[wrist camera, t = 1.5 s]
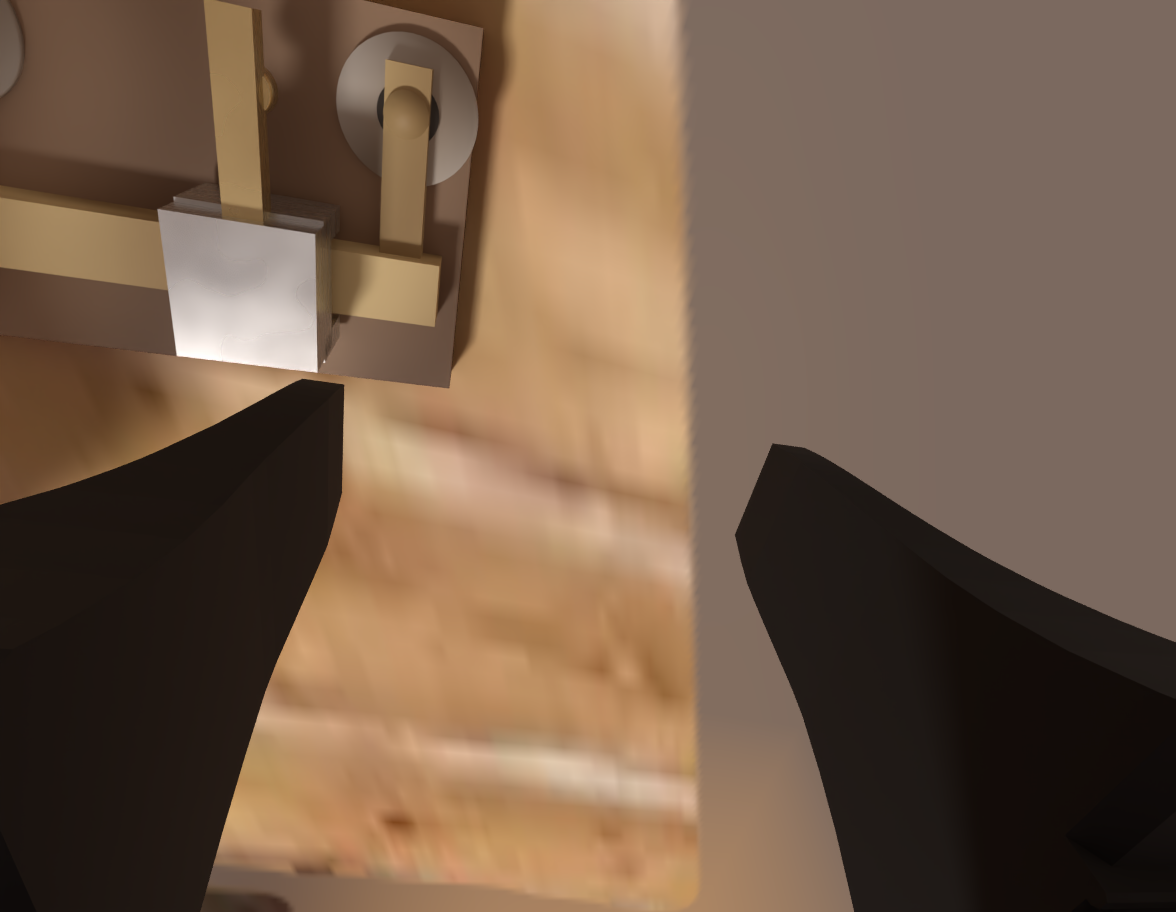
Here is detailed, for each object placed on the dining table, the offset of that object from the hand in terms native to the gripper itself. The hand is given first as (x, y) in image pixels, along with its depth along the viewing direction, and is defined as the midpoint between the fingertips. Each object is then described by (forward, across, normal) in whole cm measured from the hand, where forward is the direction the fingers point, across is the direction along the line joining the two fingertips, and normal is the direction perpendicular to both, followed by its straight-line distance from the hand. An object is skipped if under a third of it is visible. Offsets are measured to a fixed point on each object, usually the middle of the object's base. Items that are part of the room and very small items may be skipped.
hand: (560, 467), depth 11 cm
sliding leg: (+8, +7, -2) cm, 11 cm away
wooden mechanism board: (+10, +9, -1) cm, 13 cm away
